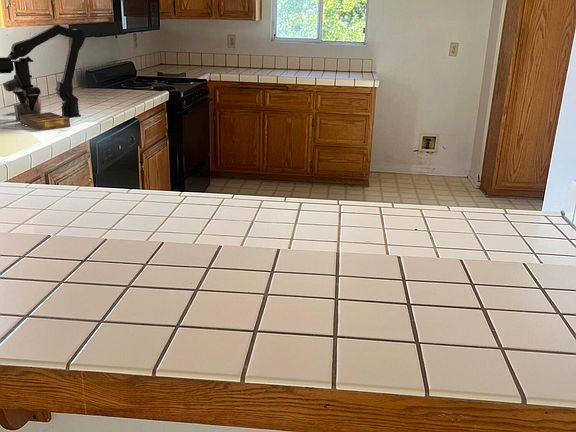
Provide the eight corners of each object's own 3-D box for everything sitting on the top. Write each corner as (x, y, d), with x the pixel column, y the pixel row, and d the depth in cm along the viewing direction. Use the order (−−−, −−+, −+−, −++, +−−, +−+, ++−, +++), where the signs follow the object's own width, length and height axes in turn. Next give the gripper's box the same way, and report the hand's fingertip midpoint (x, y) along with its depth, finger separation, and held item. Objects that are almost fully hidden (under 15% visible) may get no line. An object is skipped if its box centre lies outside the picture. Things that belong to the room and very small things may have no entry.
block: (38, 117, 257) (36, 102, 254) (41, 118, 255) (39, 103, 252) (16, 120, 250) (13, 104, 247) (18, 121, 248) (16, 105, 246)
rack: (51, 120, 252) (50, 111, 250) (70, 126, 240) (69, 117, 238) (20, 123, 243) (19, 115, 241) (38, 130, 231) (37, 121, 229)
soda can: (36, 112, 267) (33, 87, 263) (23, 112, 268) (19, 86, 264) (45, 110, 273) (42, 85, 269) (32, 109, 275) (28, 84, 270)
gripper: (-5, 71, 246) (0, 107, 251) (12, 76, 234) (17, 113, 239) (21, 70, 253) (25, 105, 259) (38, 74, 241) (43, 110, 247)
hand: (27, 108), depth 251 cm, fingers open, 9 cm apart
